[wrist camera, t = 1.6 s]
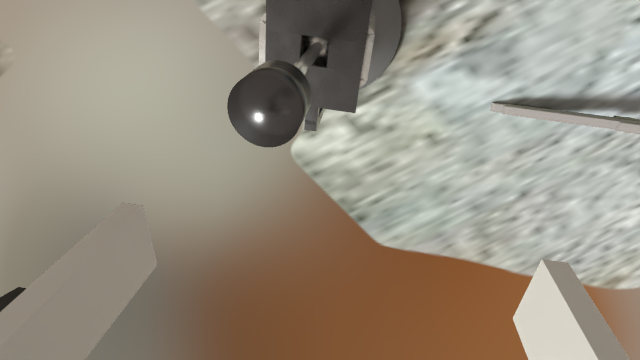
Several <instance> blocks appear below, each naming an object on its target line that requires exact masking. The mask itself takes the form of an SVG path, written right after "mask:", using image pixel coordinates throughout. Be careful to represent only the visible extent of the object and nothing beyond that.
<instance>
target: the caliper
mask: <svg viewBox="0 0 640 360" xmlns="http://www.w3.org/2000/svg"><path fill="white" fill-rule="evenodd" d="M490 111H494V112H501V113H502V114H507V115H514V116H521V117H528V118H536V119H543V120H550V121H557V122H565V123H572V124H579V125H586V126H594V127H601V128H608V129H615V130H617V131H622V132H629V133H636V134H640V120H639V119H634V118H628V117H620V116H614V117H607V116H599V115H591V114H584V113H576V112H568V111H561V110H553V109H546V108H538V107H530V106H523V105H515V104H499V103H492V105H491V109H490Z"/></svg>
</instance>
